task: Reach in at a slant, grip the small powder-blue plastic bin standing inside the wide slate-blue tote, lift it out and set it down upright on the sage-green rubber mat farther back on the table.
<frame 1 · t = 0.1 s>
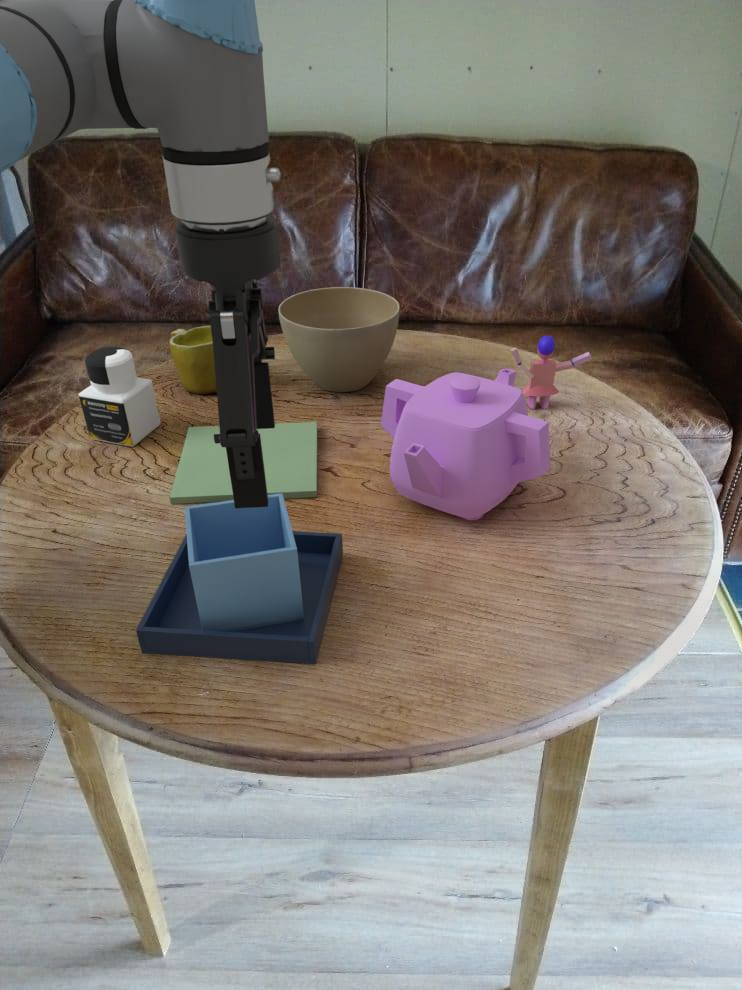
hand: (256, 463, 72), 18 cm above the table, tool pointing down, fingers open, 13 cm apart
mat: (249, 463, 106), on the table
teapot: (459, 491, 101), on the table
lower bin: (249, 600, 84), on the table
upper bin: (249, 596, 83), resting on lower bin
medicine bottle: (126, 433, 113), on the table
mug: (204, 382, 126), on the table
beige bowl: (343, 382, 126), on the table
figurine: (544, 406, 119), on the table
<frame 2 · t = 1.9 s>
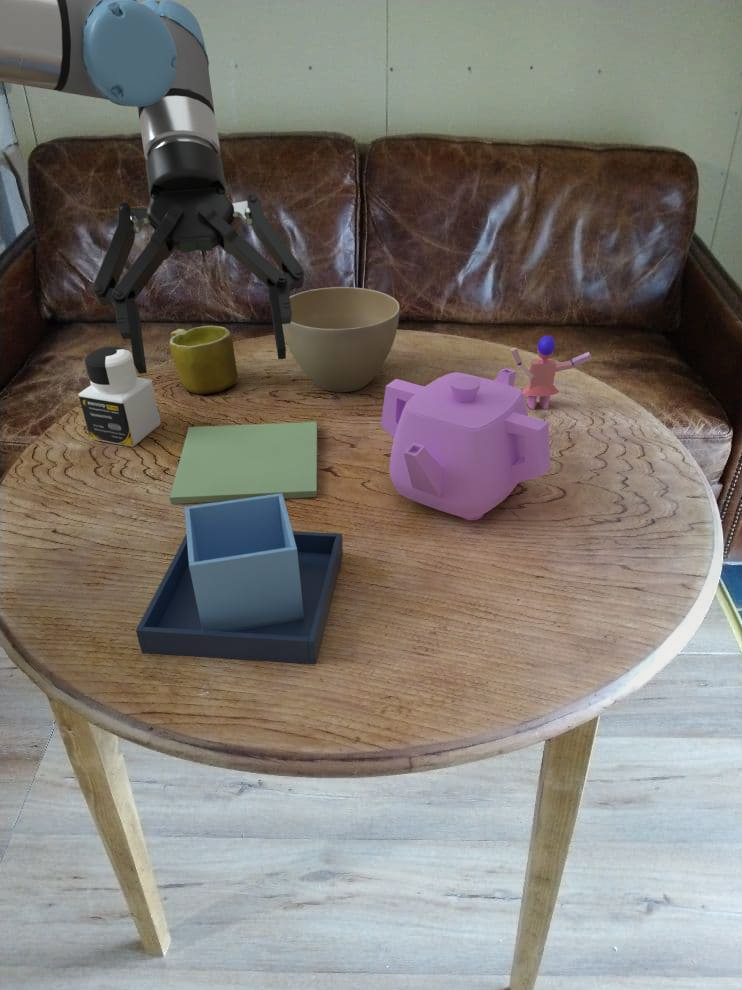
hand: (212, 361, 78), 23 cm above the table, tool tilted 45°, fingers open, 13 cm apart
nothing on the table moved.
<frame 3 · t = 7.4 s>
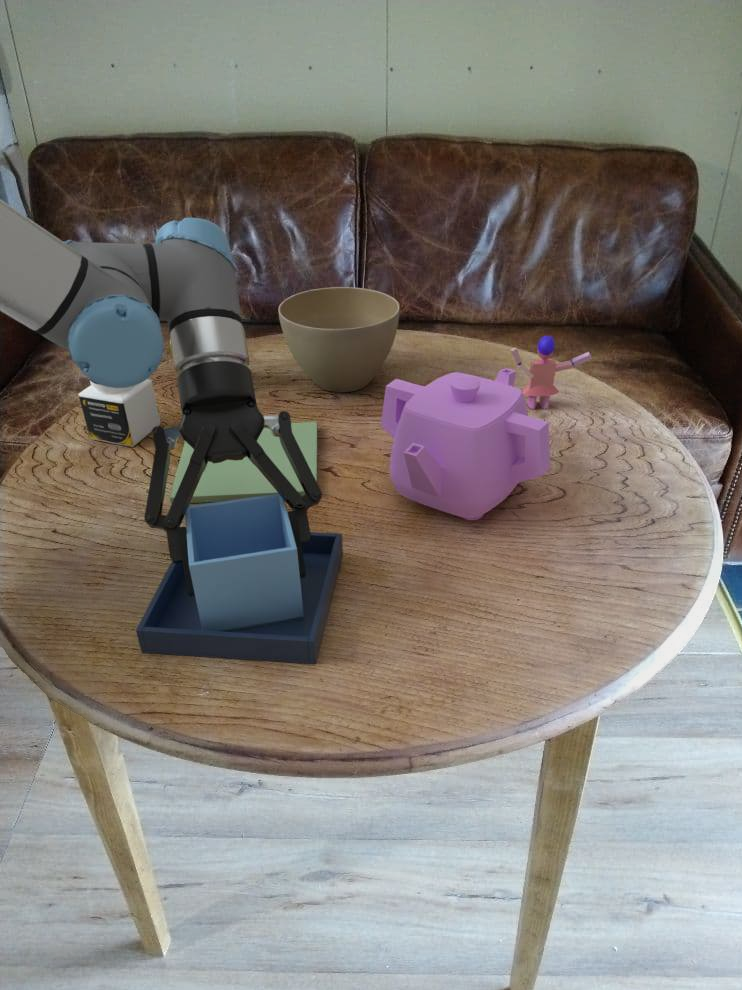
hand: (247, 585, 79), 4 cm above the table, tool tilted 45°, fingers closed on upper bin, 10 cm apart
upper bin: (249, 596, 83), point 1 cm above the table, touching gripper, lower bin
everything else where it was.
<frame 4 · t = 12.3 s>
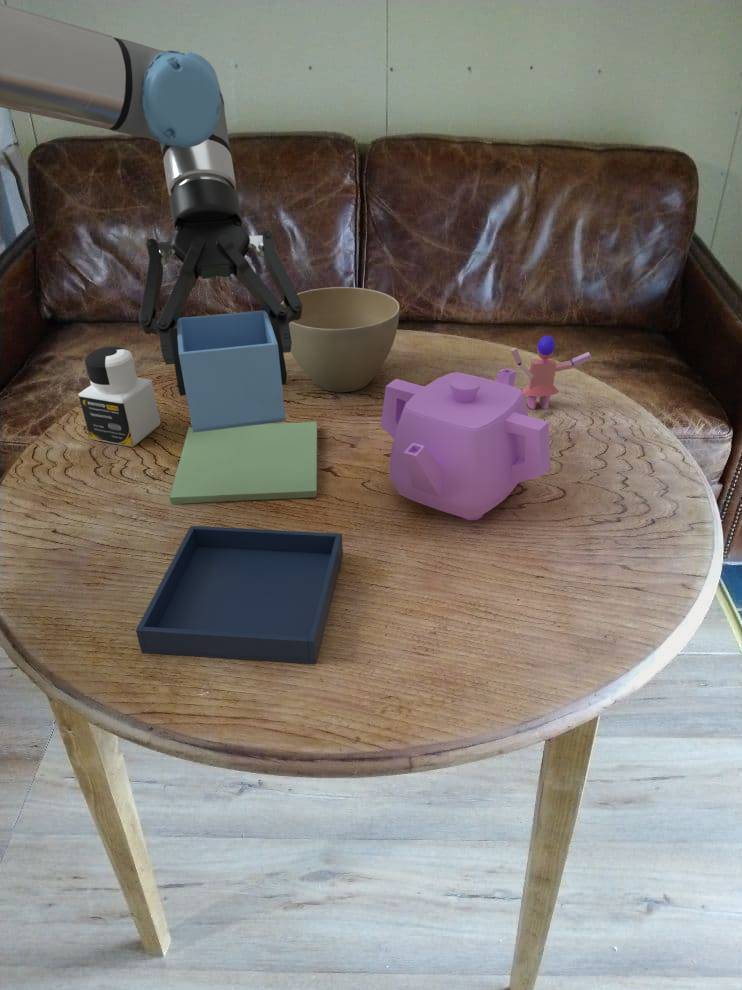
hand: (233, 385, 86), 17 cm above the table, tool tilted 45°, fingers closed on upper bin, 10 cm apart
upper bin: (236, 406, 90), point 13 cm above the table, touching gripper
everything else where it was.
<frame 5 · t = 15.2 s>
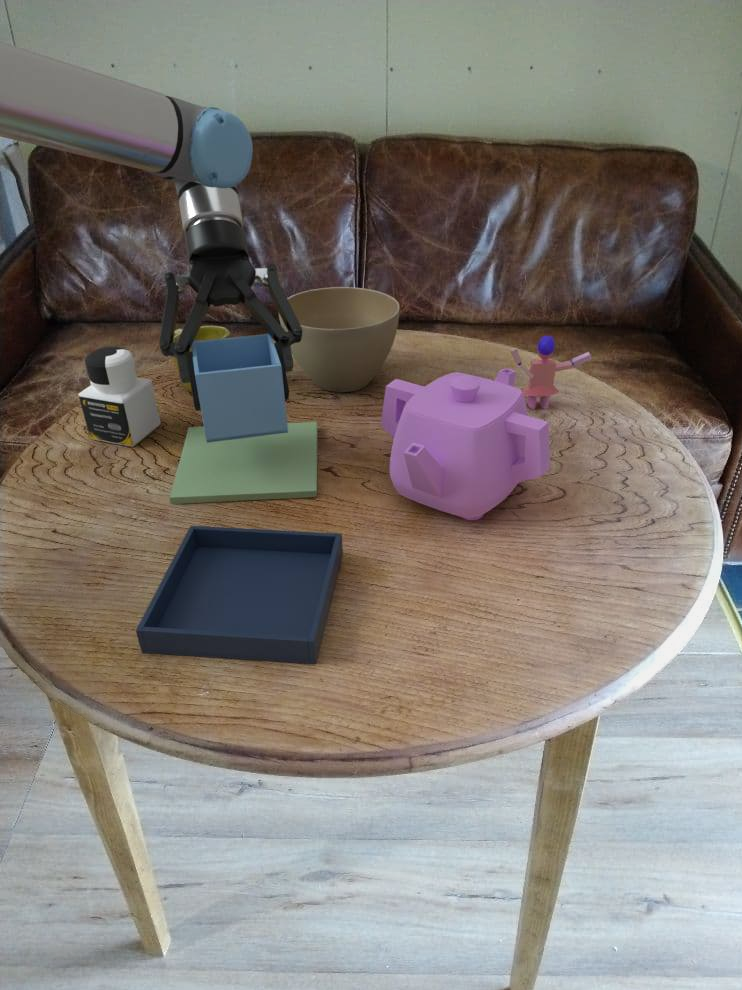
hand: (242, 401, 97), 11 cm above the table, tool tilted 45°, fingers closed on upper bin, 10 cm apart
upper bin: (243, 419, 102), point 7 cm above the table, touching gripper
everything else where it was.
when the fingers open (5 cm above the table, at t = 17.3 s): upper bin stays where it is, resting on mat.
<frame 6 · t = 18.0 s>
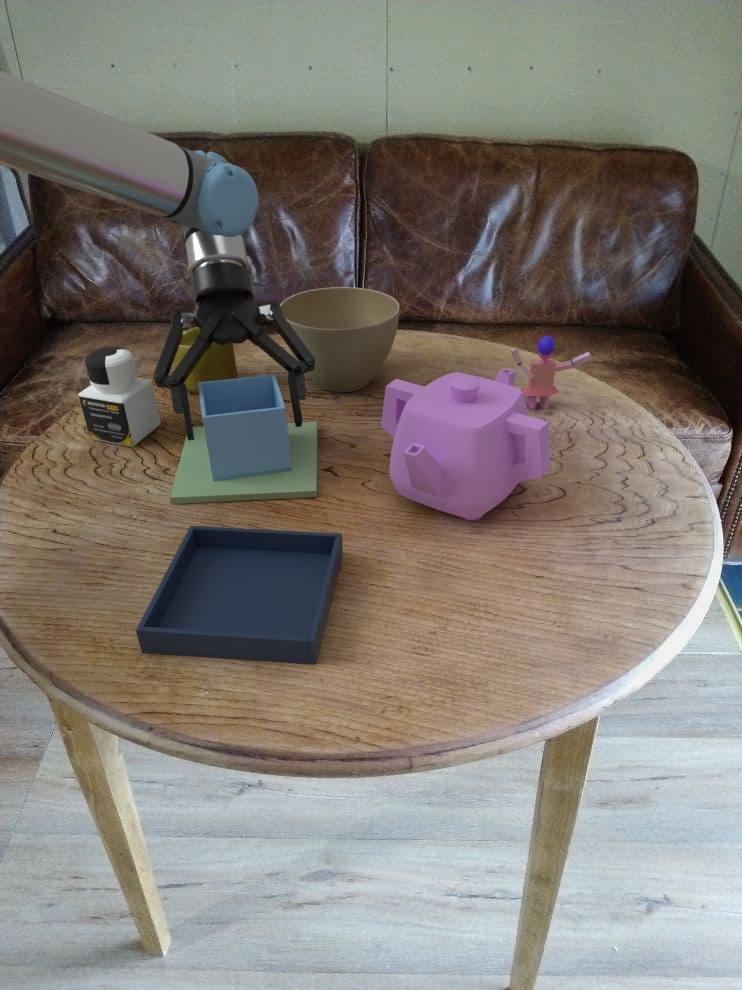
hand: (245, 430, 100), 6 cm above the table, tool tilted 45°, fingers open, 13 cm apart
upper bin: (248, 456, 105), point 1 cm above the table, touching mat
everything else where it was.
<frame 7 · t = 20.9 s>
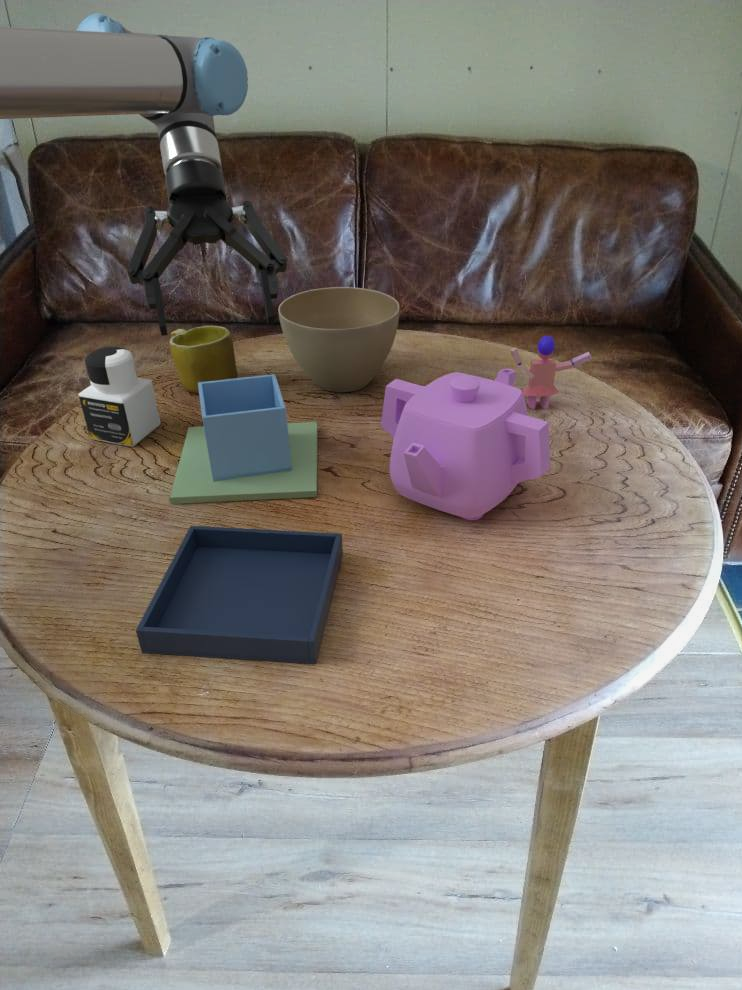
hand: (218, 326, 102), 16 cm above the table, tool tilted 45°, fingers open, 13 cm apart
nothing on the table moved.
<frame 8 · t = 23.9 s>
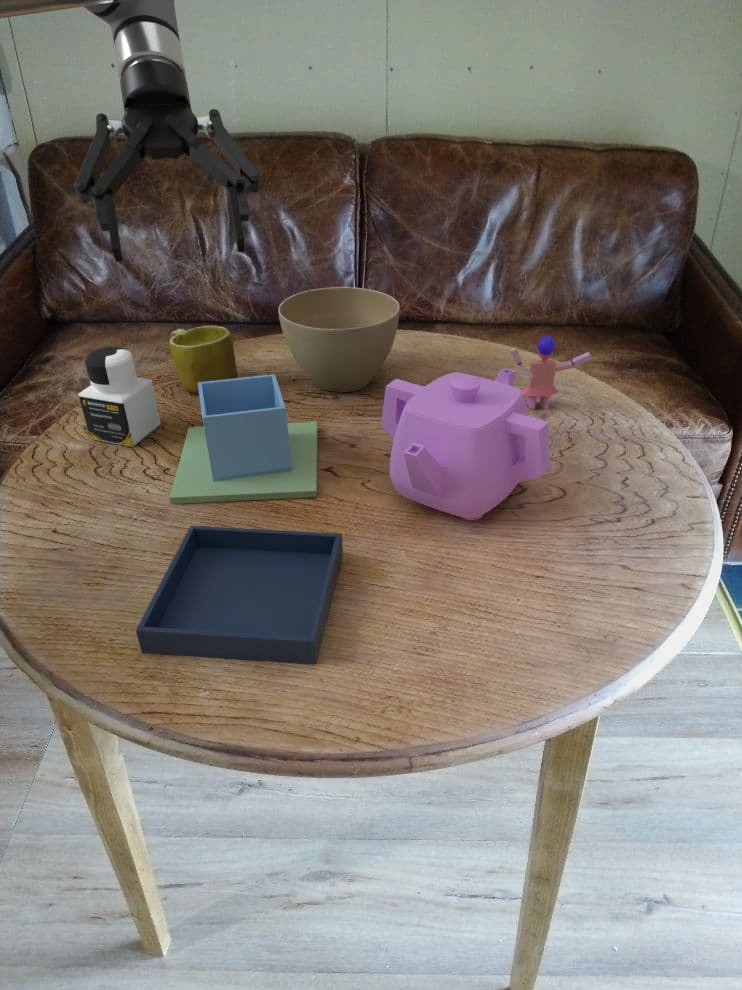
hand: (180, 250, 90), 28 cm above the table, tool tilted 45°, fingers open, 13 cm apart
nothing on the table moved.
at the end: upper bin inside the target area on the mat (0.0 cm from its centre), point 1.0 cm above the mat's base; upper bin touching mat; upper bin tilted 0° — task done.
